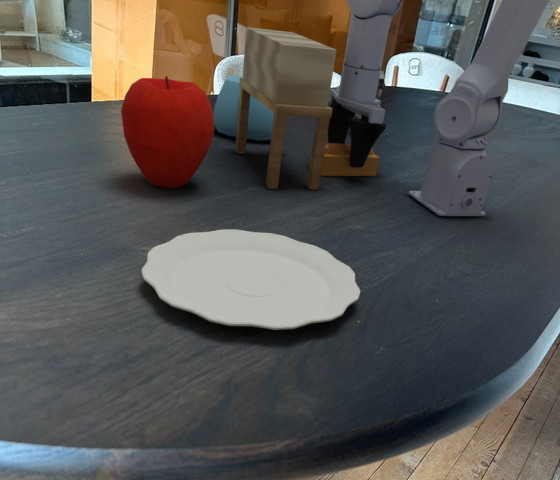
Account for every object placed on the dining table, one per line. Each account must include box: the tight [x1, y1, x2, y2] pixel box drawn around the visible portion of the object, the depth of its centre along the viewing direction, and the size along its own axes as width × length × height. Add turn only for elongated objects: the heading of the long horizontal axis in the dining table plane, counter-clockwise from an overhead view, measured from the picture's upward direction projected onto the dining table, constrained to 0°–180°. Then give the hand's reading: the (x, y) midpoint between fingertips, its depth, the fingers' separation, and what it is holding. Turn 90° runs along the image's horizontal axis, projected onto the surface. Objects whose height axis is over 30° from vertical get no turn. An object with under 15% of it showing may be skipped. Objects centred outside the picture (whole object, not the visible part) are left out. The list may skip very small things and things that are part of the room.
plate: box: [141, 229, 361, 331], centre depth 58 cm, size 21×21×2 cm
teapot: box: [213, 75, 274, 142], centre depth 107 cm, size 13×11×18 cm
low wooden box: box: [308, 142, 381, 177], centre depth 95 cm, size 5×10×4 cm, turn 112°
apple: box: [120, 75, 215, 189], centre depth 77 cm, size 12×12×13 cm
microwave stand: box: [235, 26, 337, 190], centre depth 88 cm, size 19×8×18 cm, turn 18°
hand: (345, 159), depth 95 cm, fingers open, 7 cm apart
